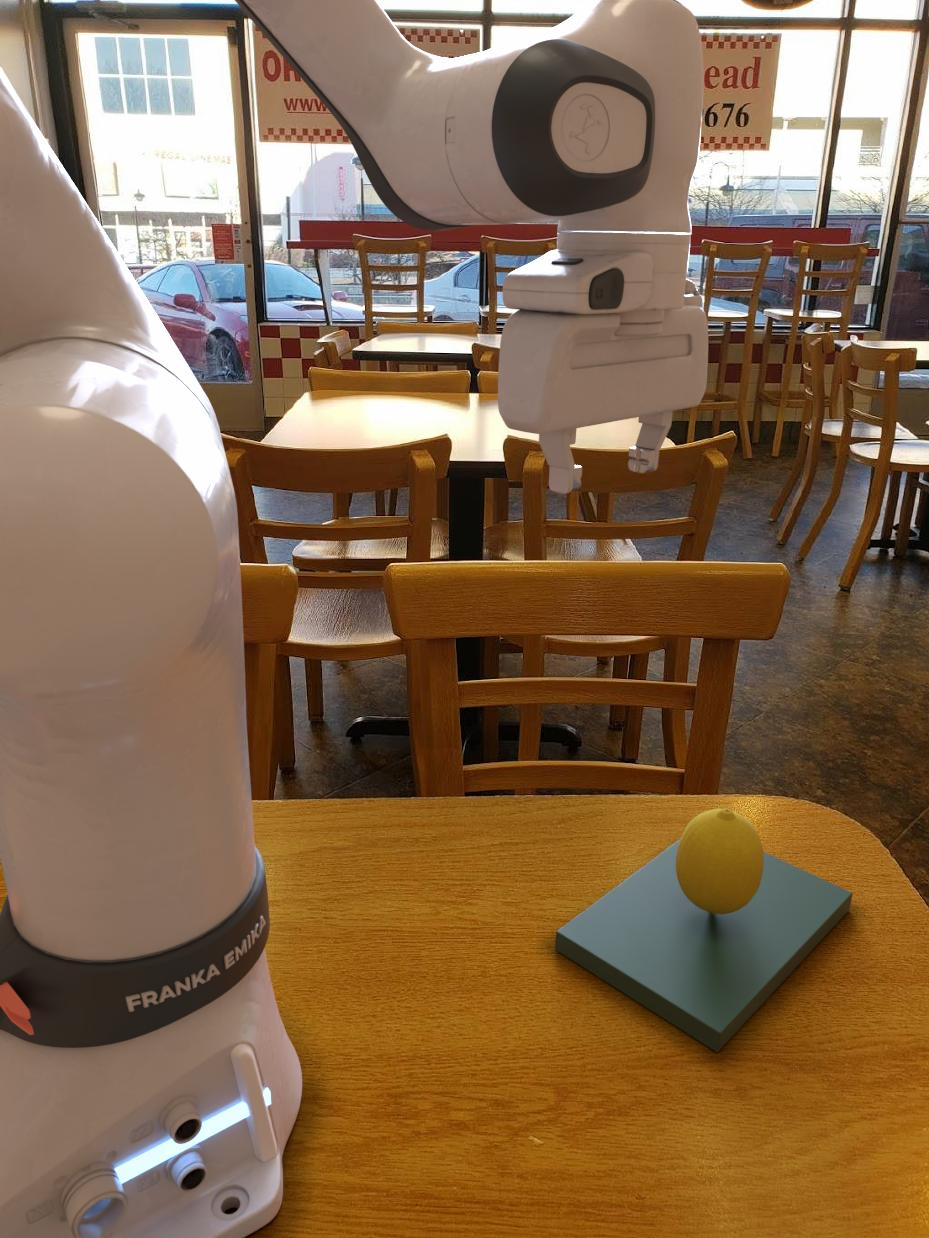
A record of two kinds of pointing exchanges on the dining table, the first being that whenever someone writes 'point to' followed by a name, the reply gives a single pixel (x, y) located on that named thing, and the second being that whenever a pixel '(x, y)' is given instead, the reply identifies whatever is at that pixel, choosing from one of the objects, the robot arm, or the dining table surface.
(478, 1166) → the dining table surface
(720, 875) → the lemon
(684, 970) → the cutting board
